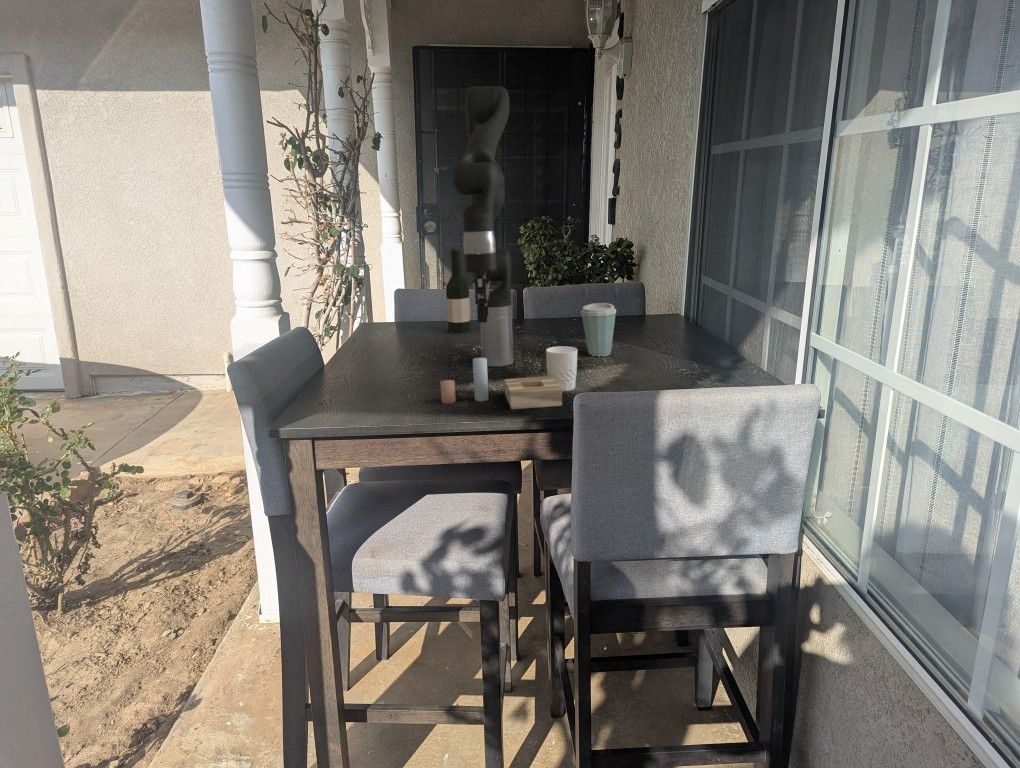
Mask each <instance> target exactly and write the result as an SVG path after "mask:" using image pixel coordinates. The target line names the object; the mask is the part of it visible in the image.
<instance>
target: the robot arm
mask: <svg viewBox="0 0 1020 768" xmlns="http://www.w3.org/2000/svg"><path fill="white" fill-rule="evenodd" d="M465 114H466V115H465V116H466V126H467V135H468V141H467V144H466V149H465V150H466V151H465V153H464V154H463V155H462V157H461V158H460V159H459V160H458V162H457V163H456V165H455V167H454V169H453V174H452V186H453V187H454V188H453V189H455V191H456V192H457V193H459V194H460V195H464V196H467V195H468V196H470V202H471V204H470V205H468V206H465V207H464V208H463V210H462V222H463V223H462V225H463V241H462V242H463V259H464V260H463V262H464V271H465V272H466V273H471V274H472V275H473V278H474V279H473V280H472V288H473V297H474V299H475V300H474V303H475V307H476V308H477V309H476V311H477V315H476V317H477V322H478V323H479V325H480V344H481V346H480V347H481V358H486V359H487V367H503V366H506V367H507V366H509V365H512V364H514V341H513V340H514V338H513V337H514V336H513V311H512V310H513V309H512V288H511V287H512V283H511V282H512V281H511V280H512V277H511V276H512V258H511V253H510V250H509V248H506V247H496V237H495V231H494V228H495V227H494V226H495V225H494V222H495V220H496V219H497V217H498V215H499V214H500V211H501V210H502V208H503V207H504V203H505V197H506V196H505V193H506V192H505V175H504V173H503V171H502V169H501V167H500V165H499V164H498V162H497V161H496V155H497V147H498V145H499V141H500V138H501V137H502V135H503V132H504V130H505V128H506V126H507V125H506V124H507V122H508V120H509V116H510V96H509V92H508V90H507V89H506V87H503V86H499V85H497V86H496V85H495V86H494V85H493V86H492V85H491V86H489V85H487V86H486V85H484V86H483V85H482V86H470V87H468V88H467V91H466V95H465ZM491 282H498V283H499V284H498V285H497V286H496V287H495V288H493V289H492V290H490V287H491V285H490V284H491Z"/></svg>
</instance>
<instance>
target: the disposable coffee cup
mask: <svg viewBox="0 0 1020 768" xmlns="http://www.w3.org/2000/svg"><path fill="white" fill-rule="evenodd" d="M616 313H617V309H616V308H615V305H613V304H611V303H608V302H597V303H596V302H595V303H589V304H585V305H584V306H582V309H580V315H581V319H582V324H583V330H584V336H585V340H586V341H585V342H586V347H587V352H588V355H589V354H590V355H592V356H591V357H594V356H598V358H601V357H600V356H602V357H607V356H609V355H611V352H612V347H613V338H614V330H615V321H616ZM590 355H589V356H590Z"/></svg>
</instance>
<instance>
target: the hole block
mask: <svg viewBox="0 0 1020 768" xmlns="http://www.w3.org/2000/svg"><path fill="white" fill-rule="evenodd" d="M504 396H505V398H506V400H507V403H508V405H509V409H510V410H519V409H531V408H533V409H534V408H535V409H537V408H548V407H550V408H551V407H561V406H563V391H562V388H561V387H560V386H559V384H558V383H557V382H556V380H555V379H554V378H553V376H551V377H548V376H539V377H536V376H535V377H525V378H524V377H523V378H510V379H509V378H507V379H504Z"/></svg>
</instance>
